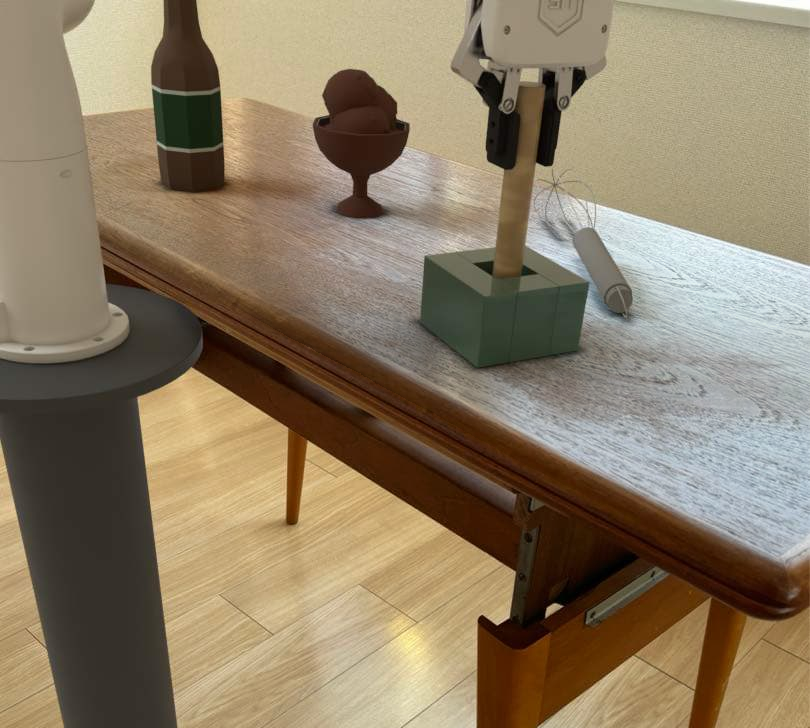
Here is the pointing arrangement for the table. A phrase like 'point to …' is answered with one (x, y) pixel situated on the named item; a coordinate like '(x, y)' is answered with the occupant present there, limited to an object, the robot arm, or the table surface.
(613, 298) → the kitchen whisk
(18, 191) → the robot arm
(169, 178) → the beer bottle
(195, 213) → the table surface
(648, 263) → the table surface
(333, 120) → the ice cream bowl
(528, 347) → the holder
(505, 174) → the stick
